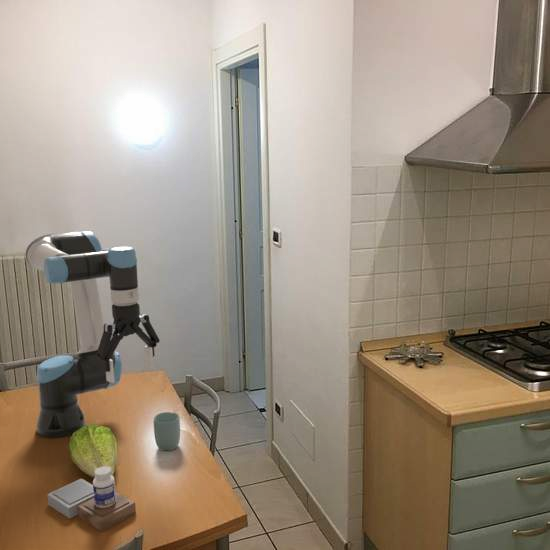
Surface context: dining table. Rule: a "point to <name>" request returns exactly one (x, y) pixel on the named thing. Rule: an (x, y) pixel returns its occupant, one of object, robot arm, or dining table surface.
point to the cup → (167, 430)
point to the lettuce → (93, 448)
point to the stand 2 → (107, 512)
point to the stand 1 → (71, 497)
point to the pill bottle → (104, 488)
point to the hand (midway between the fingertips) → (130, 374)
